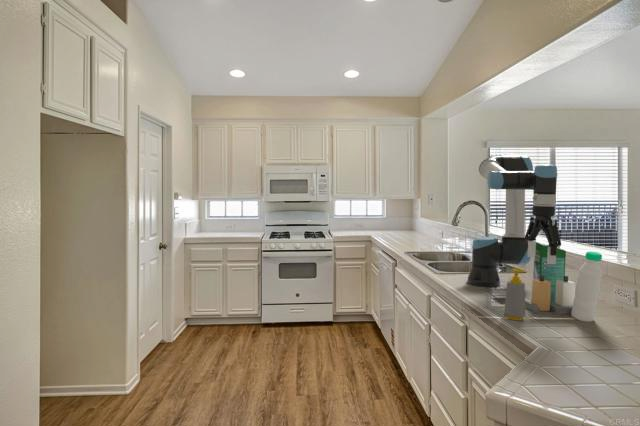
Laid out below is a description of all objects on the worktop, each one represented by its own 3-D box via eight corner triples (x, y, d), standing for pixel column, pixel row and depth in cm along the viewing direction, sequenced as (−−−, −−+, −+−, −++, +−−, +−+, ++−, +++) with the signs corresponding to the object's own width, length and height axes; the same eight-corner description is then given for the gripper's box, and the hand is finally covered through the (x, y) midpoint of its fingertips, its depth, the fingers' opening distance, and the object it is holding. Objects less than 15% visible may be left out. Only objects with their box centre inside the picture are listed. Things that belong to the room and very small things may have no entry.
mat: (490, 299, 166) (490, 297, 166) (513, 299, 166) (513, 298, 166) (501, 305, 156) (501, 304, 156) (525, 306, 156) (526, 304, 156)
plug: (542, 307, 151) (544, 274, 151) (549, 310, 147) (551, 276, 146) (531, 307, 151) (532, 274, 151) (537, 310, 147) (539, 276, 146)
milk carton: (563, 306, 157) (566, 245, 156) (538, 304, 159) (541, 244, 158) (555, 300, 166) (558, 242, 164) (532, 298, 168) (534, 241, 167)
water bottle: (588, 324, 137) (601, 257, 131) (567, 316, 142) (578, 252, 137) (597, 319, 141) (610, 254, 135) (575, 311, 146) (587, 248, 141)
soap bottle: (518, 322, 137) (520, 271, 136) (500, 316, 142) (501, 268, 141) (529, 319, 140) (531, 270, 139) (510, 313, 146) (512, 266, 145)
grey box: (524, 308, 154) (525, 273, 153) (577, 308, 154) (579, 274, 153) (536, 315, 145) (538, 278, 144) (593, 316, 145) (595, 279, 144)
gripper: (517, 203, 161) (515, 254, 162) (553, 207, 136) (550, 267, 138) (535, 204, 161) (533, 254, 162) (574, 207, 136) (571, 267, 137)
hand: (540, 260), depth 150 cm, fingers open, 13 cm apart
